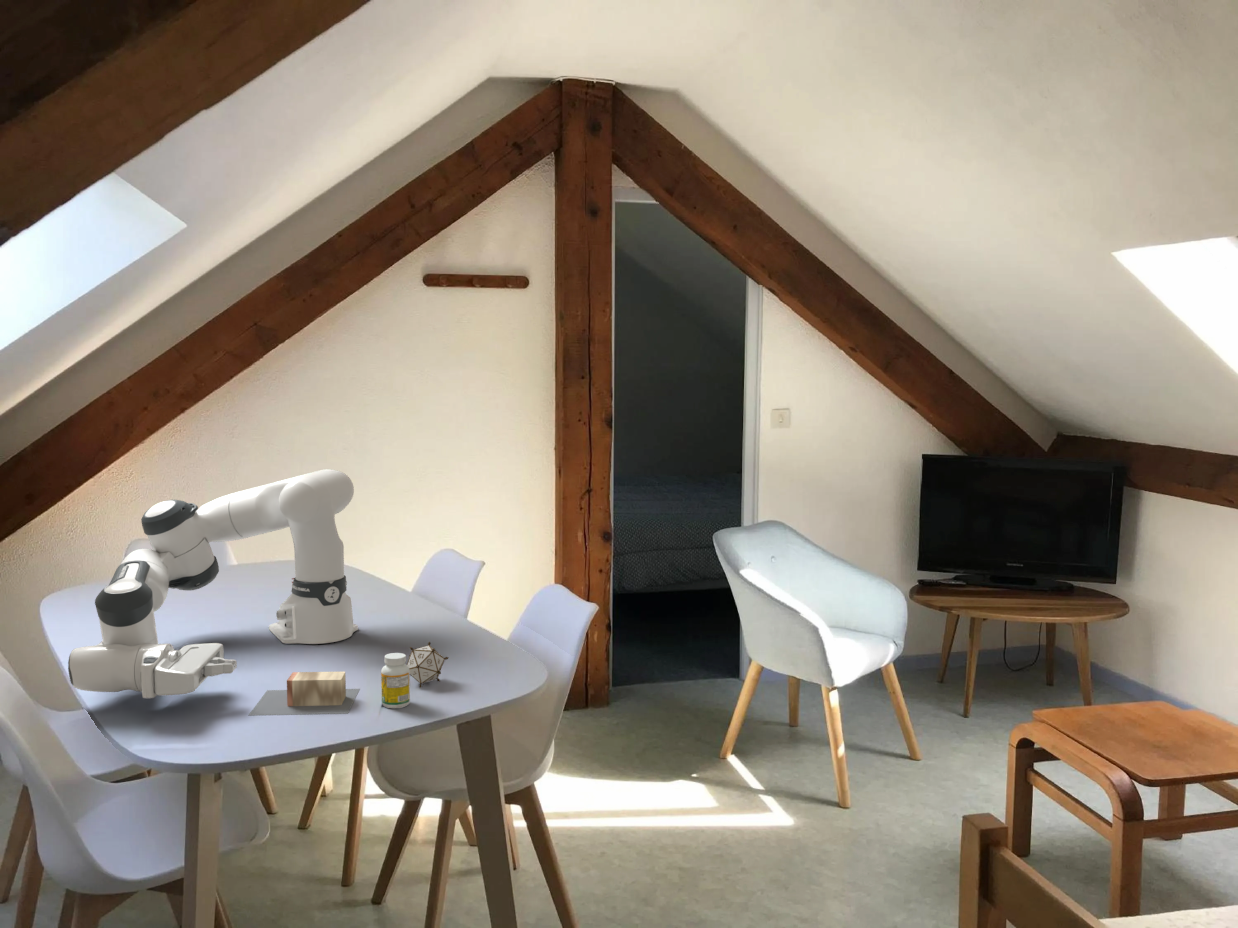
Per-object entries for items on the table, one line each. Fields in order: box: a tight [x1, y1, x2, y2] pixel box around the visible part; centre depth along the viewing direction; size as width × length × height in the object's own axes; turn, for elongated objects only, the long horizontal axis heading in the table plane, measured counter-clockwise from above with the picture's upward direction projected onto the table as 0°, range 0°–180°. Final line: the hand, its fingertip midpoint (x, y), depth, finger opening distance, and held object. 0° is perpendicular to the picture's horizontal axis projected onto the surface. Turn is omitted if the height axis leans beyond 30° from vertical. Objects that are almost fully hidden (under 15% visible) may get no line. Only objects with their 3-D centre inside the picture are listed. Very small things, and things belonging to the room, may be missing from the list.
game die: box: [406, 641, 449, 689], centre depth 213 cm, size 9×8×10 cm
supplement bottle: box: [380, 652, 411, 709], centre depth 200 cm, size 5×5×10 cm
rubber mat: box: [248, 688, 361, 717], centre depth 200 cm, size 18×14×1 cm
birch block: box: [286, 671, 347, 706], centre depth 200 cm, size 5×5×10 cm
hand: (234, 666), depth 198 cm, fingers closed
